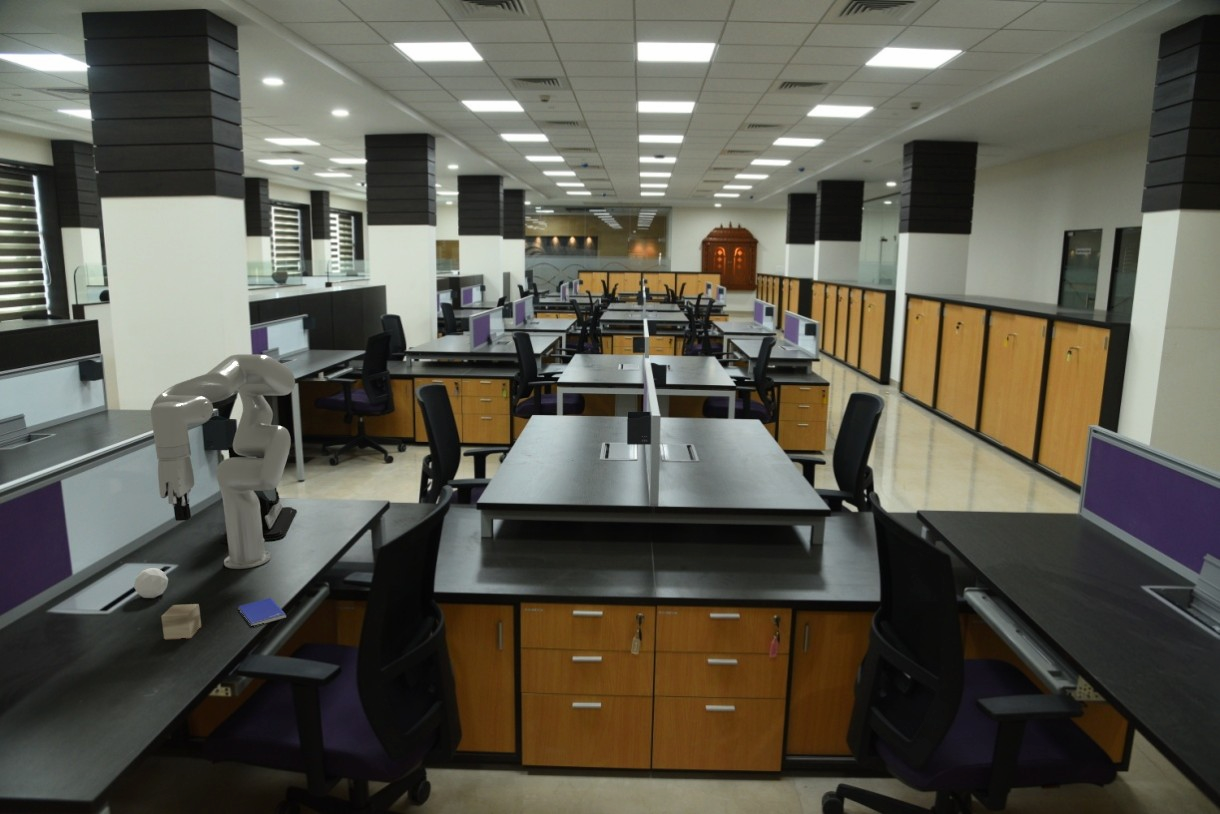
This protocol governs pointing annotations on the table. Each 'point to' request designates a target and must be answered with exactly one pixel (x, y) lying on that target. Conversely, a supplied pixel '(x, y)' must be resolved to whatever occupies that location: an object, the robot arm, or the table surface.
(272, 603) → the hard drive
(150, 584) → the geometric ball
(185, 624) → the maple cube
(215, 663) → the table surface
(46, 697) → the table surface
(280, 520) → the award
